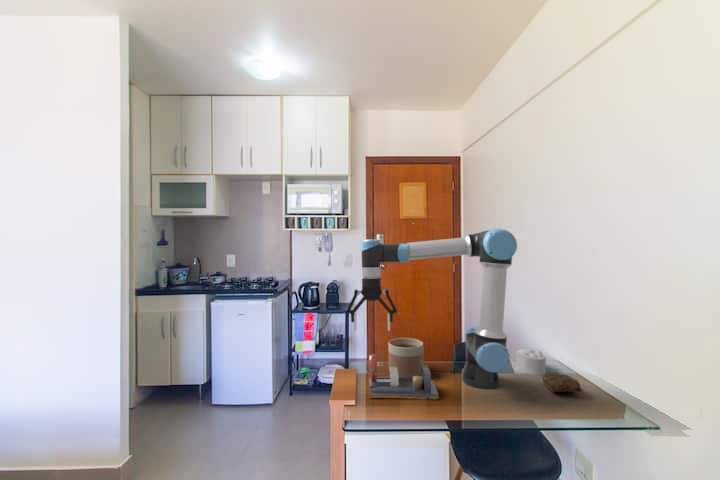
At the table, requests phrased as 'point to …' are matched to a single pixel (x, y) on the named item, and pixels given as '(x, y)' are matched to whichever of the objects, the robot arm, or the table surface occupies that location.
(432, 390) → the press bed
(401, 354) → the planter
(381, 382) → the press handle
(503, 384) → the table surface
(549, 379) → the stone
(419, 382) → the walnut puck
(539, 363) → the lumpy-topped squat cylinder
